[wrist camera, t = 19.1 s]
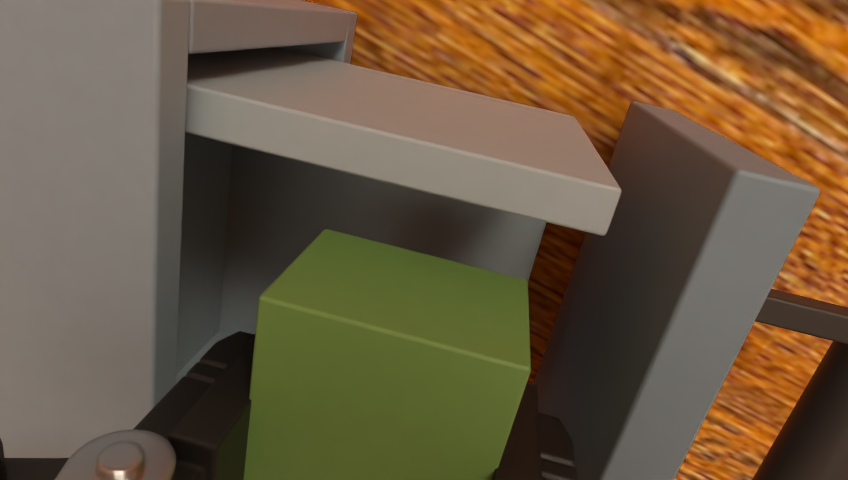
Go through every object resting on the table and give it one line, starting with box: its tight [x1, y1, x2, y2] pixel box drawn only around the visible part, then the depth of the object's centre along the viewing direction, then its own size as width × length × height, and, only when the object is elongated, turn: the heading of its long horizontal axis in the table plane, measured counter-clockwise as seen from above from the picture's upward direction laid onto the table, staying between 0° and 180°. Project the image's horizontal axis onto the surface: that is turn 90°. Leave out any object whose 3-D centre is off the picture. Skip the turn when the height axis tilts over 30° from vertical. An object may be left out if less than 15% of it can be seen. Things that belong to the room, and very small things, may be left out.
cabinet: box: [0, 0, 357, 458], centre depth 14 cm, size 14×13×10 cm
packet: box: [244, 229, 531, 480], centre depth 10 cm, size 6×4×3 cm
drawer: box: [176, 47, 848, 480], centre depth 14 cm, size 18×11×8 cm, turn 78°
